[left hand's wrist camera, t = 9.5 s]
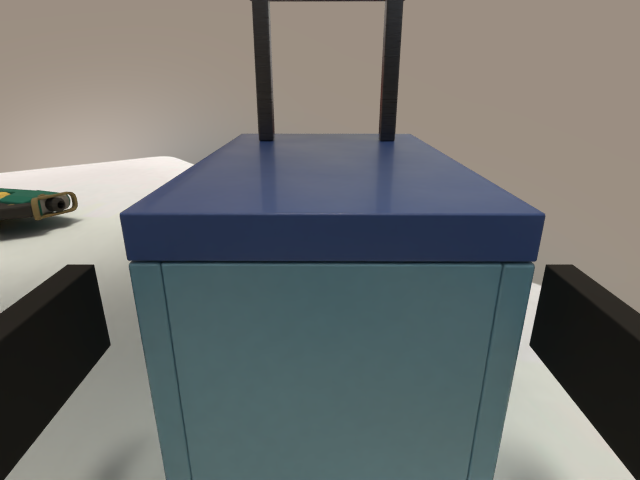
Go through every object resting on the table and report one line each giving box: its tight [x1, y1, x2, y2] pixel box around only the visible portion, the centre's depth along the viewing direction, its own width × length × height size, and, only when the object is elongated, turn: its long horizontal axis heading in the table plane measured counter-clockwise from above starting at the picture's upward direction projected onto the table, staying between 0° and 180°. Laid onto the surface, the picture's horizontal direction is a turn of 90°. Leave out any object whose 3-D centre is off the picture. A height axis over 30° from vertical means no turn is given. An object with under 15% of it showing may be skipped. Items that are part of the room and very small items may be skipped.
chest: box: [129, 261, 535, 480], centre depth 18 cm, size 14×9×9 cm, turn 0°
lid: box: [120, 0, 545, 262], centre depth 15 cm, size 15×9×9 cm, turn 0°
